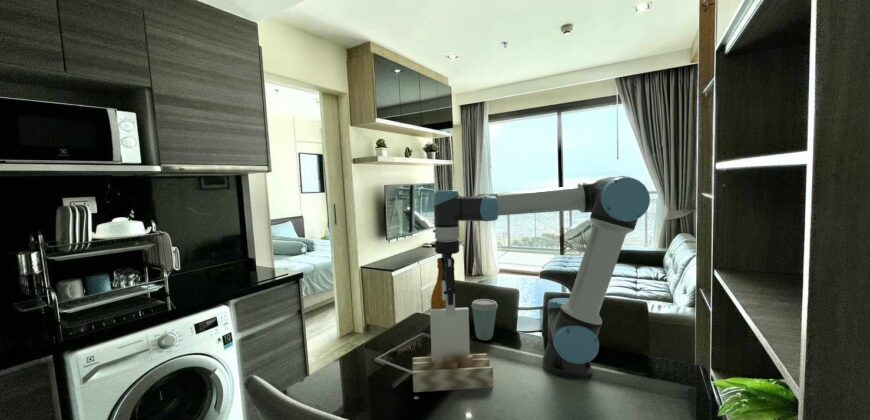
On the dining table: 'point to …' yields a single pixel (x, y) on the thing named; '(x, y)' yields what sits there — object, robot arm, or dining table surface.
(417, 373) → the rack
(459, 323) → the tall sheet
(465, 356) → the offcut near sheet
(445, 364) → the offcut front
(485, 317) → the disposable coffee cup
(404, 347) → the picture frame
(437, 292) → the wine bottle
